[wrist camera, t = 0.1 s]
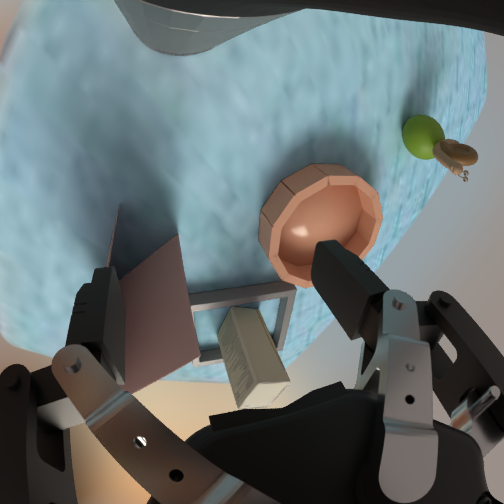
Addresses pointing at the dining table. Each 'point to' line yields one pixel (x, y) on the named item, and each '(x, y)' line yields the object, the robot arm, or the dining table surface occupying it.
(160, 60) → the dining table surface
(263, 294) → the open rectangular frame
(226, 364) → the skincare box
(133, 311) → the greeting card
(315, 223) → the bowl
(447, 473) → the robot arm
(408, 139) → the snail figurine
